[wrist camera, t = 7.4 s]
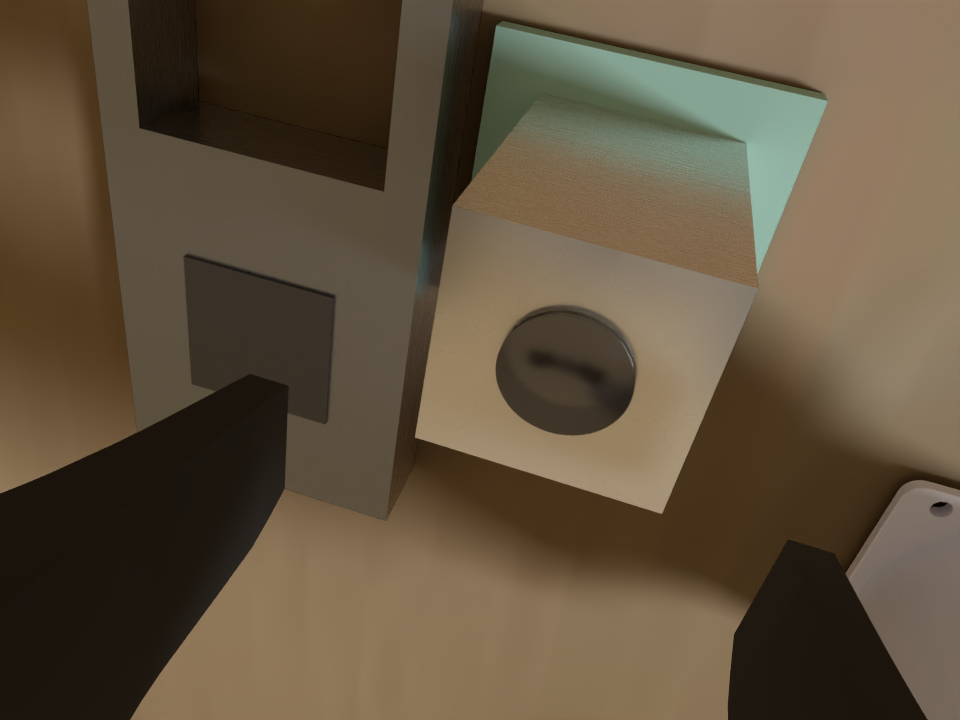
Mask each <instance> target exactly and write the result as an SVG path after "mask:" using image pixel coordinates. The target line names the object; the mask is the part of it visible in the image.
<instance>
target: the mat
mask: <svg viewBox="0 0 960 720" xmlns="http://www.w3.org/2000/svg"><path fill="white" fill-rule="evenodd" d="M542 92H545V93H549V94H553V95H557V96H561V97H565V98H569V99H573V100H577V101H581V102H585V103H589V104H593V105H597V106H601V107H605V108H609V109H613V110H617V111H621V112H625V113H629V114H633V115H637V116H641V117H645V118H649V119H653V120H657V121H661V122H665V123H669V124H673V125H677V126H681V127H685V128H689V129H693V130H697V131H701V132H705V133H709V134H713V135H717V136H721V137H725V138H729V139H733V140H737V141H741V142H745V143H746V145H747V157H748V169H749V181H750V193H751V205H752V217H753V229H754V241H755V253H756V264H757V274H758V271H759V269H760V266H761V264H762V261H763V259H764V256H765V254H766V252H767V249H768V247H769V244H770V242H771V239H772V237H773V234H774V232H775V229H776V227H777V225H778V222H779V220H780V217H781V215H782V212H783V210H784V207H785V205H786V202H787V200H788V198H789V195H790V193H791V190H792V188H793V185H794V183H795V180H796V178H797V176H798V173H799V171H800V168H801V166H802V163H803V161H804V158H805V156H806V153H807V151H808V149H809V146H810V144H811V141H812V139H813V136H814V134H815V131H816V129H817V126H818V124H819V122H820V119H821V117H822V114H823V112H824V109H825V107H826V104H827V102H828V100H827V98H826V96H825V94H823V93H819V92H814V91H810V90H806V89H801V88H797V87H792V86H788V85H784V84H779V83H775V82H770V81H766V80H761V79H757V78H753V77H748V76H744V75H739V74H735V73H731V72H726V71H722V70H717V69H713V68H709V67H704V66H700V65H695V64H691V63H686V62H682V61H678V60H673V59H669V58H664V57H660V56H656V55H651V54H647V53H642V52H638V51H634V50H629V49H625V48H620V47H616V46H611V45H607V44H603V43H598V42H594V41H589V40H585V39H581V38H576V37H572V36H567V35H563V34H559V33H554V32H550V31H545V30H541V29H536V28H532V27H528V26H523V25H519V24H514V23H510V22H506V21H502V22H500V23H499V24H498V25H496V30H495V36H494V43H493V49H492V55H491V61H490V67H489V74H488V80H487V86H486V92H485V99H484V105H483V111H482V117H481V124H480V130H479V136H478V142H477V148H476V155H475V161H474V167H473V173H472V180H473V179H474V178H475V177H476V175H477V174H478V173H479V172H480V170H481V169H482V168H483V166H484V165H485V164H486V163H487V161H488V160H489V159H490V158H491V156H492V155H493V154H494V153H495V151H496V150H497V149H498V148H499V146H500V145H501V144H502V142H503V141H504V140H505V139H506V137H507V136H508V135H509V134H510V132H511V131H512V130H513V129H514V127H515V126H516V125H517V124H518V122H519V121H520V120H521V118H522V117H523V116H524V115H525V113H526V112H527V111H528V110H529V108H530V107H531V106H532V105H533V103H534V102H535V101H536V100H537V98H538V97H539V96H540V95H541V93H542ZM472 180H471V182H472Z"/></svg>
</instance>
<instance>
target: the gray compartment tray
mask: <svg viewBox="0 0 960 720" xmlns="http://www.w3.org/2000/svg"><path fill="white" fill-rule="evenodd" d="M87 6H88V15H89V23H90V32H91V40H92V49H93V58H94V66H95V75H96V83H97V92H98V101H99V109H100V118H101V126H102V135H103V143H104V152H105V161H106V169H107V178H108V186H109V195H110V204H111V212H112V221H113V229H114V238H115V247H116V255H117V264H118V272H119V281H120V290H121V298H122V307H123V315H124V324H125V333H126V341H127V350H128V358H129V367H130V375H131V384H132V393H133V401H134V410H135V418H136V427H137V432H139V431H141V430H143V429H145V428H147V427H149V426H151V425H153V424H155V423H157V422H159V421H161V420H163V419H165V418H167V417H169V416H170V415H172V414H174V413H176V412H178V411H180V410H182V409H184V408H186V407H188V406H189V405H191V404H193V403H195V402H197V401H199V400H201V399H203V398H205V397H206V396H208V395H210V394H212V393H214V392H216V391H218V390H220V389H222V388H223V387H225V386H227V385H229V384H231V383H233V382H235V381H237V380H239V379H241V378H243V377H245V376H247V375H249V374H252V375H255V376H259V377H262V378H265V379H268V380H272V381H275V382H278V383H281V384H285V385H288V386H289V390H288V417H287V443H286V469H285V489H287V490H290V491H293V492H296V493H299V494H302V495H306V496H309V497H312V498H315V499H318V500H321V501H325V502H328V503H331V504H334V505H337V506H340V507H344V508H347V509H350V510H353V511H356V512H359V513H363V514H366V515H369V516H372V517H375V518H378V519H382V520H385V521H386V520H387V518H388V516H389V514H390V512H391V510H392V508H393V506H394V504H395V502H396V500H397V498H398V496H399V495H400V493H401V491H402V489H403V487H404V485H405V483H406V481H407V479H408V477H409V475H410V473H411V471H412V469H413V467H414V461H415V455H416V448H417V441H418V438H415V434H416V428H417V422H418V416H419V409H420V403H421V397H422V391H423V385H424V378H425V372H426V366H427V360H428V354H429V348H430V341H431V335H432V329H433V323H434V317H435V311H436V304H437V298H438V292H439V286H440V280H441V273H442V267H443V261H444V255H445V249H446V243H447V236H448V230H449V224H450V218H451V212H452V206H453V200H454V193H455V187H456V180H457V173H458V166H459V160H460V153H461V146H462V140H463V133H464V126H465V120H466V113H467V106H468V99H469V93H470V86H471V79H472V73H473V66H474V59H475V52H476V46H477V39H478V32H479V26H480V19H481V12H482V6H483V0H402V9H401V19H400V30H399V40H398V51H397V61H396V72H395V82H394V93H393V103H392V114H391V124H390V135H389V146H388V149H385V148H381V147H377V146H373V145H369V144H365V143H361V142H358V141H354V140H350V139H346V138H342V137H338V136H334V135H330V134H326V133H322V132H318V131H314V130H310V129H306V128H302V127H298V126H294V125H290V124H286V123H282V122H278V121H274V120H270V119H267V118H263V117H259V116H255V115H251V114H247V113H243V112H239V111H235V110H231V109H227V108H223V107H219V106H215V105H211V104H207V103H203V102H199V97H198V74H197V52H196V29H195V7H194V0H87Z"/></svg>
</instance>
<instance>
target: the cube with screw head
mask: <svg viewBox="0 0 960 720" xmlns="http://www.w3.org/2000/svg"><path fill="white" fill-rule="evenodd" d="M758 289H759V288H758V276H757V264H756V253H755V241H754V229H753V217H752V205H751V193H750V181H749V169H748V157H747V145H746V143H745V142H741V141H737V140H733V139H729V138H725V137H721V136H717V135H713V134H709V133H705V132H701V131H697V130H693V129H689V128H685V127H681V126H677V125H673V124H669V123H665V122H661V121H657V120H653V119H649V118H645V117H641V116H637V115H633V114H629V113H625V112H621V111H617V110H613V109H609V108H605V107H601V106H597V105H593V104H589V103H585V102H581V101H577V100H573V99H569V98H565V97H561V96H557V95H553V94H549V93H545V92H542V93H541V95H540V96H539V97H538V98H537V100H536V101H535V102H534V103H533V105H532V106H531V107H530V108H529V110H528V111H527V112H526V113H525V115H524V116H523V117H522V118H521V120H520V121H519V122H518V124H517V125H516V126H515V127H514V129H513V130H512V131H511V132H510V134H509V135H508V136H507V137H506V139H505V140H504V141H503V142H502V144H501V145H500V146H499V148H498V149H497V150H496V151H495V153H494V154H493V155H492V156H491V158H490V159H489V160H488V161H487V163H486V164H485V165H484V166H483V168H482V169H481V170H480V172H479V173H478V174H477V175H476V177H475V178H474V179H473V180H472V182H471V183H470V184H469V185H468V187H467V188H466V189H465V190H464V192H463V193H462V194H461V195H460V197H459V198H458V199H457V201H456V202H455V203H454V204H453V206H452V212H451V218H450V224H449V230H448V236H447V243H446V249H445V255H444V261H443V267H442V273H441V280H440V286H439V292H438V298H437V304H436V311H435V317H434V323H433V329H432V335H431V341H430V348H429V354H428V360H427V366H426V372H425V378H424V385H423V391H422V397H421V403H420V409H419V416H418V422H417V428H416V434H415V438H419V439H422V440H425V441H428V442H431V443H435V444H438V445H441V446H444V447H448V448H451V449H454V450H457V451H460V452H464V453H467V454H470V455H473V456H477V457H480V458H483V459H486V460H490V461H493V462H496V463H499V464H502V465H506V466H509V467H512V468H515V469H519V470H522V471H525V472H528V473H531V474H535V475H538V476H541V477H544V478H548V479H551V480H554V481H557V482H560V483H564V484H567V485H570V486H573V487H577V488H580V489H583V490H586V491H590V492H593V493H596V494H599V495H602V496H606V497H609V498H612V499H615V500H619V501H622V502H625V503H628V504H631V505H635V506H638V507H641V508H644V509H648V510H651V511H654V512H657V513H660V514H662V513H663V510H664V508H665V506H666V503H667V501H668V499H669V496H670V494H671V492H672V489H673V487H674V485H675V482H676V480H677V478H678V475H679V473H680V471H681V468H682V466H683V464H684V461H685V459H686V457H687V454H688V452H689V450H690V447H691V445H692V443H693V440H694V438H695V436H696V433H697V431H698V429H699V426H700V424H701V422H702V419H703V417H704V415H705V412H706V410H707V408H708V405H709V403H710V401H711V398H712V396H713V394H714V391H715V389H716V387H717V384H718V382H719V380H720V377H721V375H722V373H723V370H724V368H725V366H726V363H727V361H728V359H729V356H730V354H731V352H732V349H733V347H734V345H735V342H736V340H737V338H738V335H739V333H740V331H741V328H742V326H743V324H744V321H745V319H746V317H747V314H748V312H749V310H750V307H751V305H752V303H753V300H754V298H755V296H756V293H757V291H758Z"/></svg>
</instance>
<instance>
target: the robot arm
mask: <svg viewBox="0 0 960 720" xmlns="http://www.w3.org/2000/svg"><path fill="white" fill-rule="evenodd" d="M288 390H289V386H288V385H285V384H281V383H278V382H275V381H272V380H268V379H265V378H262V377H259V376H255V375H252V374H249V375H247V376H245V377H243V378H241V379H239V380H237V381H235V382H233V383H231V384H229V385H227V386H225V387H223V388H222V389H220V390H218V391H216V392H214V393H212V394H210V395H208V396H206V397H205V398H203V399H201V400H199V401H197V402H195V403H193V404H191V405H189V406H188V407H186V408H184V409H182V410H180V411H178V412H176V413H174V414H172V415H170V416H169V417H167V418H165V419H163V420H161V421H159V422H157V423H155V424H153V425H151V426H149V427H147V428H145V429H143V430H141V431H139V432H137V433H135V434H133V435H131V436H129V437H127V438H125V439H123V440H121V441H119V442H117V443H115V444H113V445H111V446H109V447H106V448H104V449H102V450H100V451H98V452H95V453H93V454H91V455H89V456H87V457H85V458H82V459H80V460H78V461H76V462H74V463H71V464H69V465H67V466H65V467H63V468H60V469H58V470H56V471H54V472H52V473H50V474H47V475H45V476H43V477H40V478H38V479H35V480H33V481H31V482H28V483H26V484H23V485H21V486H18V487H16V488H13V489H11V490H8V491H6V492H3V493H0V720H130V719H131V717H132V716H133V714H134V712H135V711H136V709H137V707H138V706H139V704H140V702H141V701H142V699H143V698H144V696H145V695H146V693H147V692H148V690H149V689H150V687H151V686H152V684H153V683H154V681H155V680H156V678H157V677H158V676H159V674H160V673H161V671H162V670H163V668H164V667H165V666H166V664H167V663H168V662H169V660H170V659H171V658H172V656H173V655H174V653H175V652H176V651H177V649H178V648H179V647H180V645H181V644H182V643H183V641H184V640H185V639H186V637H187V636H188V634H189V633H190V632H191V630H192V629H193V628H194V626H195V625H196V624H197V622H198V621H199V619H200V618H201V617H202V615H203V614H204V613H205V611H206V610H207V609H208V607H209V606H210V605H211V603H212V602H213V600H214V599H215V598H216V596H217V595H218V594H219V592H220V591H221V590H222V588H223V587H224V585H225V584H226V583H227V581H228V580H229V579H230V577H231V576H232V574H233V573H234V572H235V570H236V569H237V568H238V566H239V565H240V563H241V562H242V561H243V559H244V558H245V556H246V555H247V554H248V552H249V551H250V549H251V548H252V547H253V545H254V543H255V541H256V540H257V538H258V536H259V534H260V533H261V531H262V529H263V527H264V526H265V524H266V522H267V520H268V519H269V517H270V515H271V513H272V511H273V509H274V507H275V505H276V504H277V502H278V500H279V498H280V496H281V494H282V492H283V491H284V489H285V469H286V443H287V417H288ZM937 502H947V504H946V505H945V506H941V507H932V505H933V504H934V503H937ZM728 720H960V490H957V489H954V488H950V487H947V486H943V485H940V484H936V483H933V482H929V481H923V480H916V481H910V482H908V483H906V484H904V485H903V486H902V487H901V488H900V489H899V490H898V492H897V493H896V495H895V496H894V498H893V499H892V501H891V503H890V504H889V506H888V507H887V509H886V510H885V512H884V514H883V515H882V517H881V518H880V520H879V522H878V523H877V525H876V526H875V528H874V529H873V531H872V533H871V534H870V536H869V537H868V539H867V540H866V542H865V544H864V545H863V547H862V548H861V550H860V551H859V553H858V555H857V556H856V558H855V559H854V561H853V562H852V564H851V566H850V567H849V569H848V570H847V572H846V573H845V572H844V570H843V568H842V566H841V565H840V563H839V561H838V559H837V557H836V556H835V554H834V553H830V552H827V551H824V550H821V549H817V548H814V547H811V546H808V545H804V544H801V543H798V542H795V541H791V540H788V541H787V542H786V544H785V546H784V548H783V549H782V551H781V553H780V555H779V556H778V558H777V560H776V562H775V563H774V565H773V567H772V569H771V570H770V572H769V574H768V576H767V577H766V579H765V581H764V583H763V585H762V586H761V588H760V590H759V592H758V593H757V595H756V597H755V599H754V600H753V602H752V604H751V606H750V607H749V609H748V611H747V613H746V614H745V616H744V618H743V620H742V621H741V623H740V625H739V627H738V628H737V630H736V632H735V634H734V641H733V651H732V661H731V671H730V684H729V697H728Z"/></svg>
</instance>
